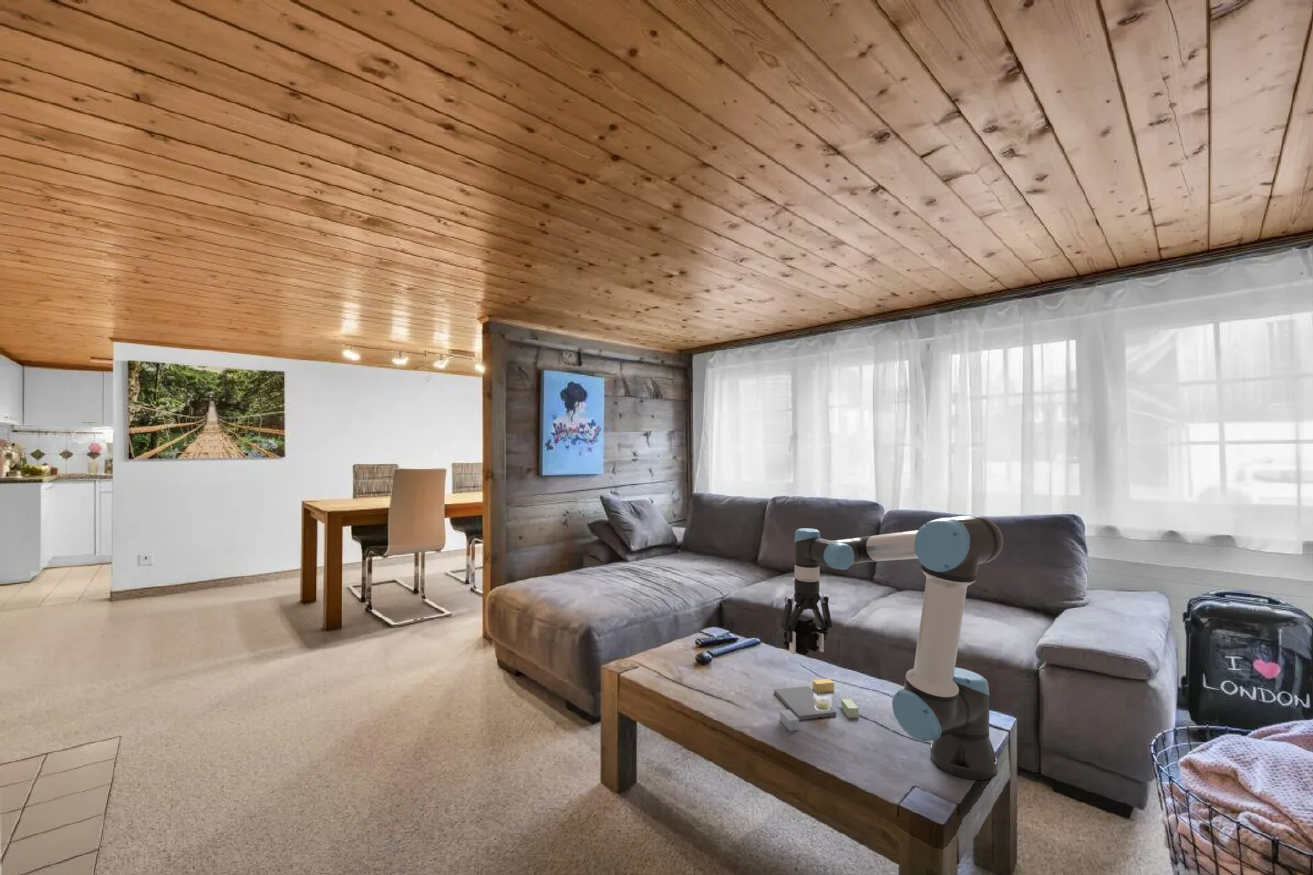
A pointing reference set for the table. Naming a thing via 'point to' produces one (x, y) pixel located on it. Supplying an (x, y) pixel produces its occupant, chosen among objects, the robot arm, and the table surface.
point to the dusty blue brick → (789, 720)
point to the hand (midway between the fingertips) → (806, 651)
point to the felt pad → (801, 702)
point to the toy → (805, 635)
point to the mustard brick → (823, 685)
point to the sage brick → (849, 708)
